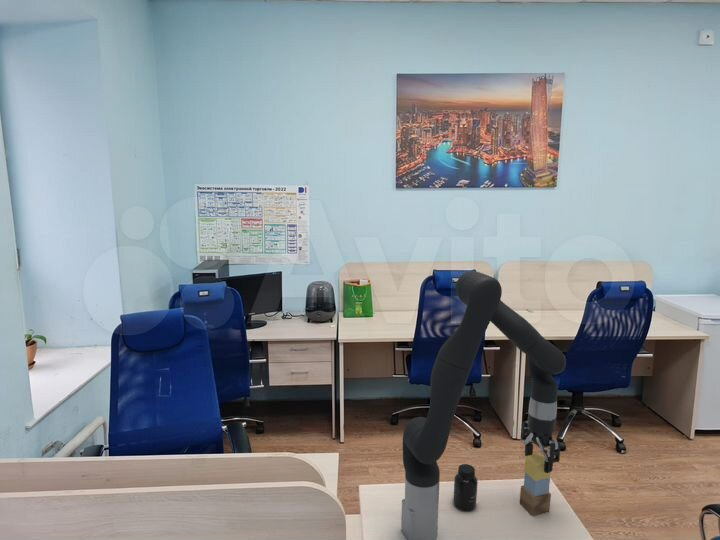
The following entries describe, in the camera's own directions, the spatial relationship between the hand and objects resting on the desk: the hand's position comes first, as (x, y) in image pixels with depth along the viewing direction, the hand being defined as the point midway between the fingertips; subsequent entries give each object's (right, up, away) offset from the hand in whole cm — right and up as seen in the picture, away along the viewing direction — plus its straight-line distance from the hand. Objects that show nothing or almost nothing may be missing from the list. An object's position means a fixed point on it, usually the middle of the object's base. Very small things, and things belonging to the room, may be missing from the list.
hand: (537, 463), depth 147 cm
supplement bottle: (-21, -14, +4) cm, 25 cm away
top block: (0, -3, +1) cm, 4 cm away
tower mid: (0, -8, +2) cm, 9 cm away
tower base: (0, -14, +3) cm, 15 cm away
